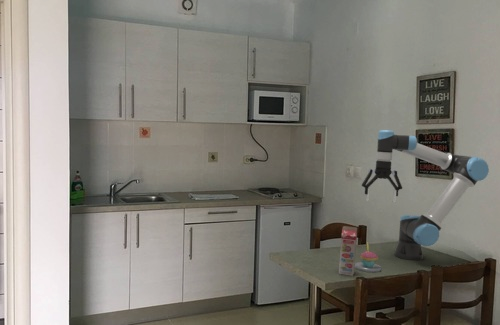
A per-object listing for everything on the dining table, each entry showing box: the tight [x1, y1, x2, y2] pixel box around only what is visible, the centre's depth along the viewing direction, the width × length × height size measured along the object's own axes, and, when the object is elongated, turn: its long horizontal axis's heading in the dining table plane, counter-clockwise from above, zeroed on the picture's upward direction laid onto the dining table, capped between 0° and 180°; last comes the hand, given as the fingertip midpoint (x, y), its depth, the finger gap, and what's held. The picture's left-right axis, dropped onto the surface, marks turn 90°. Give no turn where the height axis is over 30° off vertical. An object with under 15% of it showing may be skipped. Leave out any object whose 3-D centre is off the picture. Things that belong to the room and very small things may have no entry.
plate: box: [354, 261, 382, 273], centre depth 227 cm, size 13×13×1 cm
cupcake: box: [359, 241, 379, 267], centre depth 226 cm, size 9×8×12 cm
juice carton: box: [338, 225, 358, 277], centre depth 217 cm, size 7×7×22 cm
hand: (380, 201), depth 236 cm, fingers open, 13 cm apart
